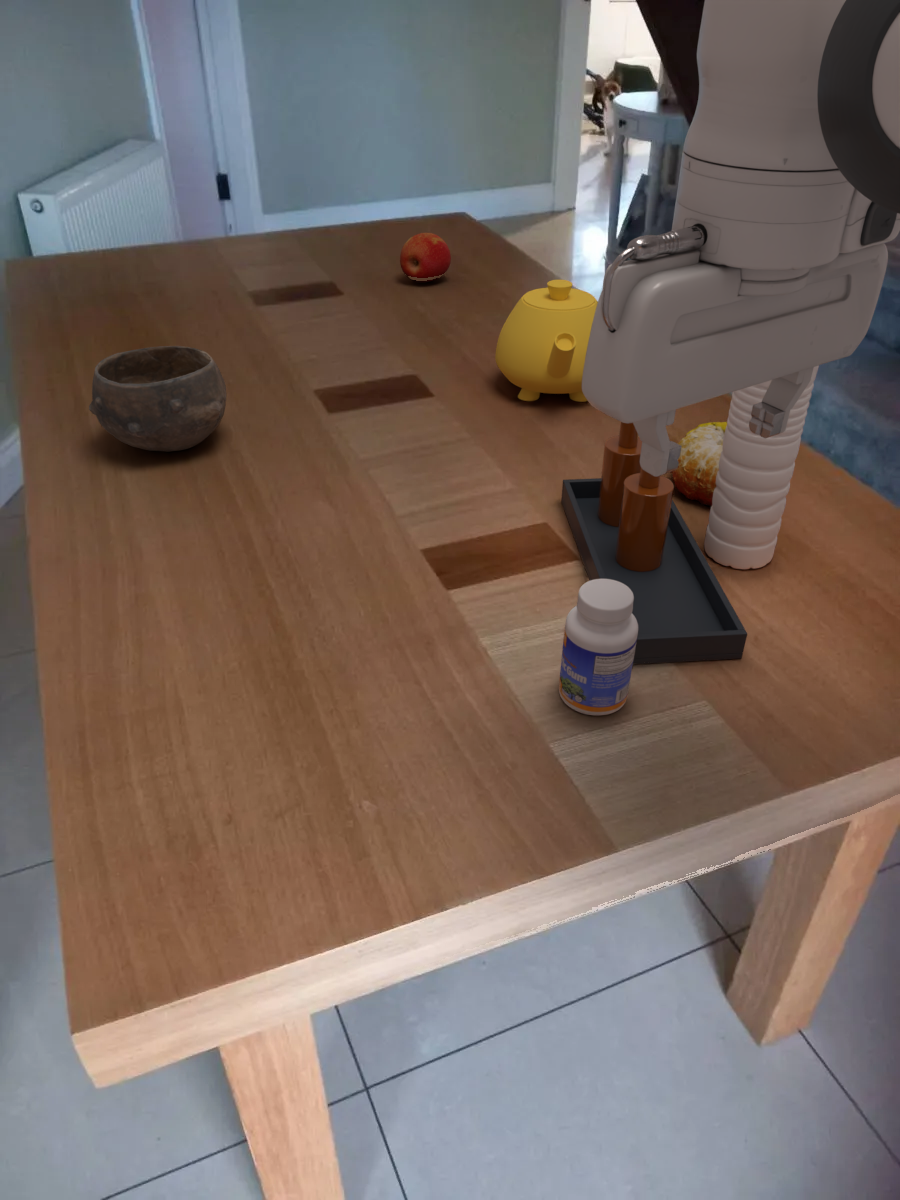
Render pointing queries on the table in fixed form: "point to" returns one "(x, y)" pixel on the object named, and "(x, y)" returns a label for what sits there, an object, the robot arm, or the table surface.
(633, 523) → the amber bottle
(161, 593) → the table surface
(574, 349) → the teapot
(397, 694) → the table surface
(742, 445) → the water bottle
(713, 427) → the fruit
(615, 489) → the amber bottle
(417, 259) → the apple
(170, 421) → the bowl
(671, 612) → the tray
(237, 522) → the table surface
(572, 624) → the pill bottle
